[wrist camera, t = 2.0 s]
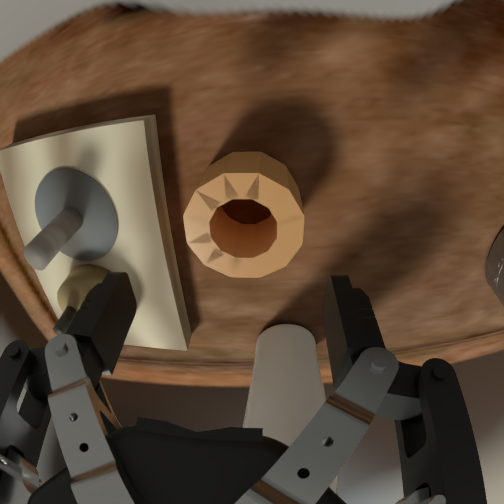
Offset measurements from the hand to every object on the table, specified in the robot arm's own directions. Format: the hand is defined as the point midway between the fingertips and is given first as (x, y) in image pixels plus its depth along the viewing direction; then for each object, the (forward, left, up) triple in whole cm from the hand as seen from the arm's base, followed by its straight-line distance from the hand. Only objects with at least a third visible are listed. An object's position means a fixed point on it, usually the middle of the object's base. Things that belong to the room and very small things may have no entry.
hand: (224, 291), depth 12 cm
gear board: (+12, +4, -9) cm, 15 cm away
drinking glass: (-3, +14, -10) cm, 17 cm away
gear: (0, 0, -9) cm, 9 cm away
